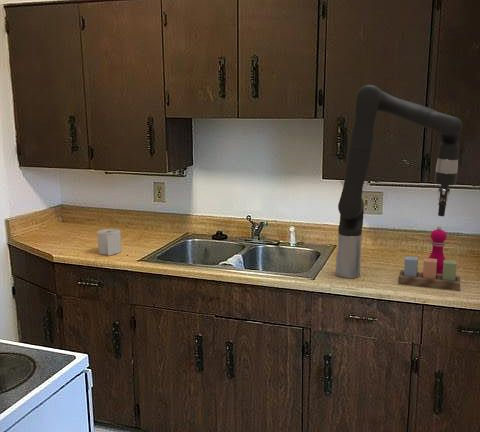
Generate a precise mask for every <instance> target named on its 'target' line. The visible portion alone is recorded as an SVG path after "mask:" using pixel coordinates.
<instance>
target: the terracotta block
mask: <svg viewBox="0 0 480 432" xmlns="http://www.w3.org/2000/svg"><path fill="white" fill-rule="evenodd" d="M436 269H437V259H431V258H429V257H424V259H423V269H422V270H423V271H422V272H423V278H429V279H436Z"/></svg>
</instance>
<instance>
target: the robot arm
mask: <svg viewBox="0 0 480 432" xmlns="http://www.w3.org/2000/svg"><path fill="white" fill-rule="evenodd" d="M378 111H379V112H383V113H388V114H391V115H393V116H396V117H398V118H400V119H402V120H404V121H407V122H409V123H411V124H415V125H417V126H420V127H423V128H425V129H430V130H433V131H434V132H437V133H440V139H439V141H440V142H439V148H438V154H437V161H436V165H435V174H434V184H437V185H440V186H441V187H438V191H437V192H438V199H437V201H439V202H438V211H437V212H438V213H437V216H438V217H445V215H446V214H445V213H446V206H447V202H448V201H449V196H450V191H451V188H450V186H454V185H456V184H457V179H458V169H459V154H460V153H459V152H460V136H461V133H462V130H463V122H462V121H461V119H460V118H458V117H457V116H453V115H449V114H446V113H444V112H440V111H437V110H436V109H433V108H430V107H427V106H424V105H421V104H419V103H415V102H412V101H408V100H404V99H401V98H398V97H396V96H393V95H391V94H389V93H387V92H385V91H383V90H381V89H380V88H379V87H377V85H373V84H366V85H363V86H362V87H361V88H359V90H357V93H356V97H355V114H354V122H353V127H352V131H351V134H350V138H349V141H348V146H347V147H348V148H347V154H346V159H345V160H346V161H345V167H344V168H345V169H344V170H345V171H344V181H343V187H342V190H341V195H340V197H339V201H338V203H337V204H338V205H337V209H338V212H339V222H338V223H339V225H338V228H337V229H338V231H337V232H338V234H337V235H338V236H337V237H338V238H337V252H336V257H335V258H336V259H335V264H336V265H335V276H337V277H340V278H345V279H357V278H359V277H360V276H361V266H362V265H361V264H362V263H361V261H362V238H363V228H364V227H363V225H364V213H365V207H364V206H365V204H364V200H363V198H362V197H363V189H364V183H365V181H366V177H367V175H368V171H369V169H370V165H371V161H372V155H373V150H374V139H375V138H374V137H375V136H374V132H375V131H374V130H375V128H374V127H375V120H376V117H377V114H378Z"/></svg>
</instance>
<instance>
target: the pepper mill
mask: <svg viewBox="0 0 480 432" xmlns="http://www.w3.org/2000/svg"><path fill="white" fill-rule="evenodd" d="M430 239H431V245H432V249H431V252H430V255H429V256H428V258H431V259H437V269H436V274H443V264H444V260H446V258H445V255H444V247H445V241H446V240H447V233H446V231H444V230H443V229H442V226H441V225H438V226H436V229H433V230H432V231H431V234H430Z"/></svg>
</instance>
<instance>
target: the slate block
mask: <svg viewBox="0 0 480 432" xmlns="http://www.w3.org/2000/svg"><path fill="white" fill-rule="evenodd" d="M403 264H404V265H403V267H404V268H403V270H404V276H410V277H417V272H418V268H419V267H418V264H419V257H418V256H405V258H404V263H403Z"/></svg>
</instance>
